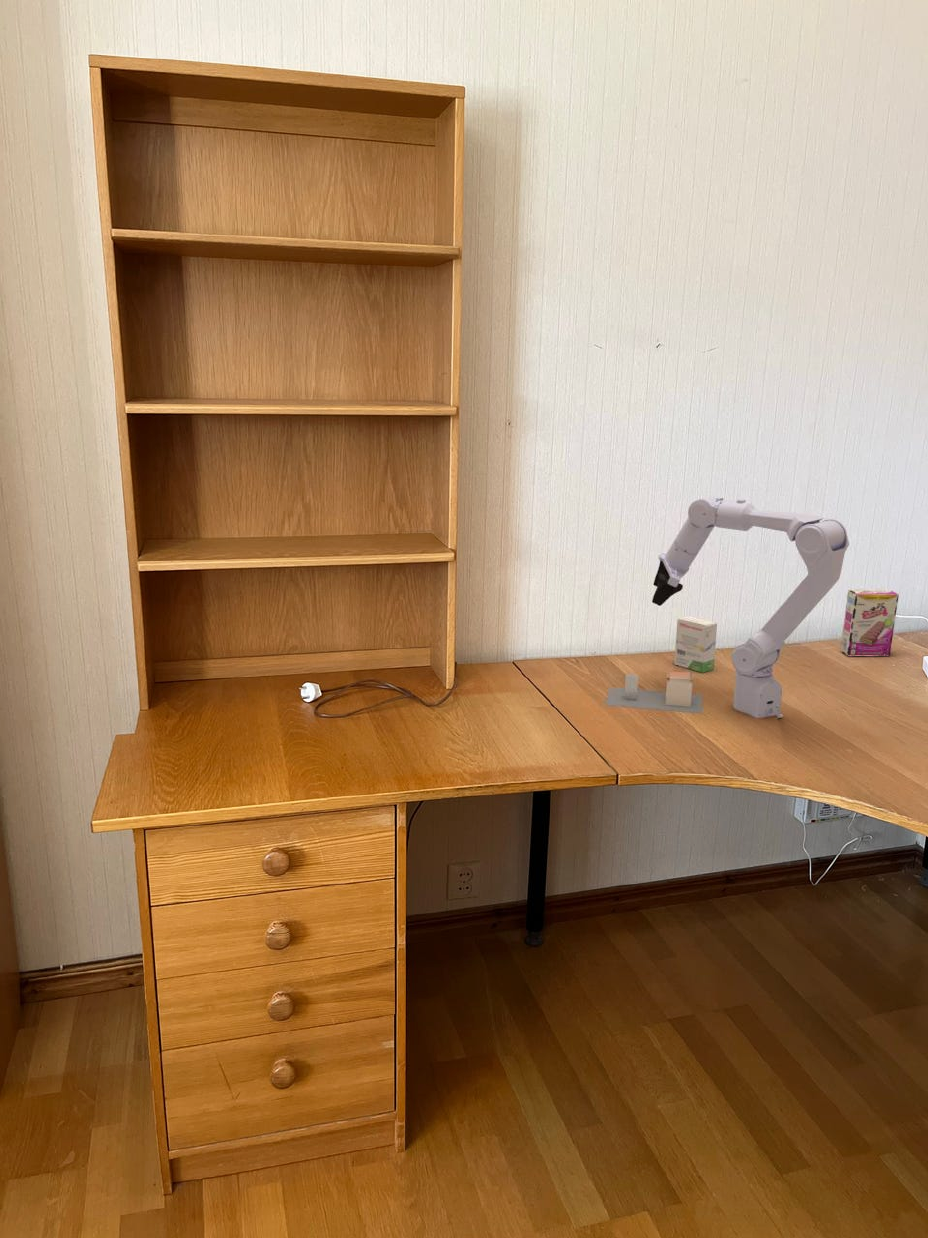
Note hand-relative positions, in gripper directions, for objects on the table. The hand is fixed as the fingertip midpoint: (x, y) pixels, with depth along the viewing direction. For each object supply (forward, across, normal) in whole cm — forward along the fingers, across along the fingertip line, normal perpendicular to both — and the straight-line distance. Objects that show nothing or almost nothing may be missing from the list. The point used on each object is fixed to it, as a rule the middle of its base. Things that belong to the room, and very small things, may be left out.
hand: (656, 594), depth 215 cm
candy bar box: (+7, -29, +61) cm, 67 cm away
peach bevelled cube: (+12, +19, +12) cm, 25 cm away
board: (+14, +19, +8) cm, 25 cm away
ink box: (+19, -8, +19) cm, 28 cm away
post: (+16, +19, +3) cm, 25 cm away
